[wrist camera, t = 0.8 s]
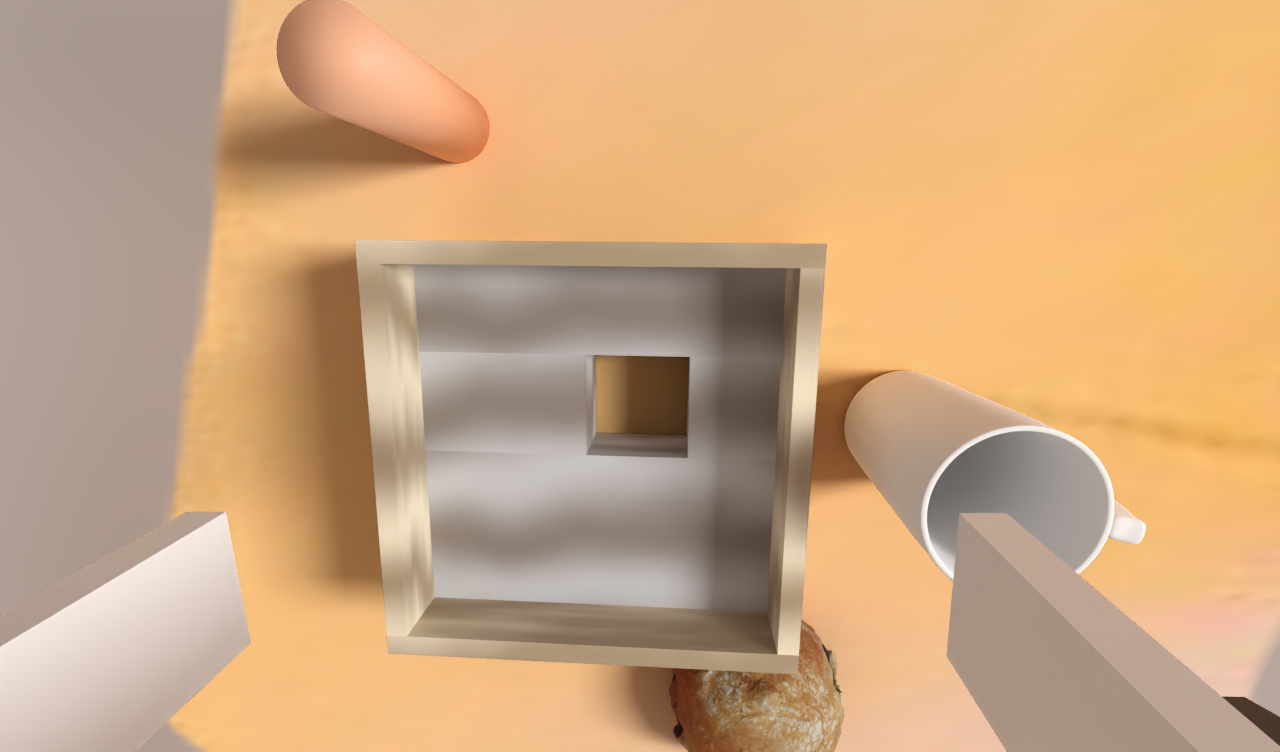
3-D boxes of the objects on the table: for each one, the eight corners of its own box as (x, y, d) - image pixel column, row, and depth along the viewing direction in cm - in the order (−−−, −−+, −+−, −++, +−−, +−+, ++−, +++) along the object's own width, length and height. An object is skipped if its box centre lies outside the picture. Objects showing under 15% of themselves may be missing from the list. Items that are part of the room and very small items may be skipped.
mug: (823, 465, 35) (896, 574, 23) (858, 352, 33) (955, 405, 22) (997, 507, 35) (1160, 638, 23) (1039, 395, 33) (1236, 472, 21)
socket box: (425, 242, 34) (354, 240, 26) (793, 246, 32) (826, 243, 25) (445, 575, 38) (388, 653, 30) (773, 589, 36) (797, 674, 29)
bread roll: (824, 675, 41) (910, 737, 34) (709, 786, 39) (774, 881, 31) (750, 559, 40) (822, 596, 32) (625, 665, 37) (672, 733, 30)
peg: (420, 91, 32) (270, -3, 20) (487, 90, 32) (376, -4, 20) (424, 162, 33) (282, 112, 21) (490, 162, 33) (384, 112, 21)
